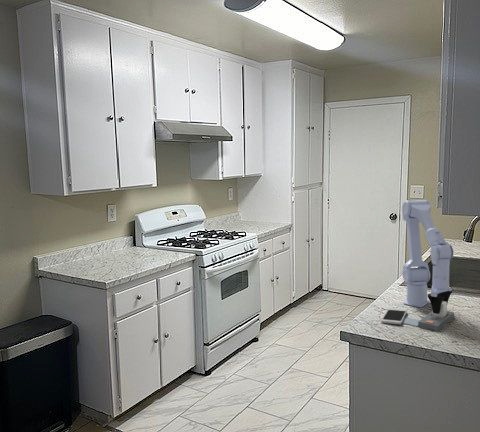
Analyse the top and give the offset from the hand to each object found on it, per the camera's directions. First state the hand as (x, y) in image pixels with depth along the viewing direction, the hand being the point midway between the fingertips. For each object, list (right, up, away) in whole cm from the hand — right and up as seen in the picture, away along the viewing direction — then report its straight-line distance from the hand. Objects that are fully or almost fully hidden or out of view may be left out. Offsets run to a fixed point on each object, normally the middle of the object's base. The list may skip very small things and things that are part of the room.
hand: (439, 310), depth 170 cm
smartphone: (-16, -4, +4) cm, 17 cm away
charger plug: (0, -4, +1) cm, 4 cm away
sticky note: (-11, -4, -1) cm, 12 cm away
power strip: (-2, -4, -2) cm, 5 cm away
